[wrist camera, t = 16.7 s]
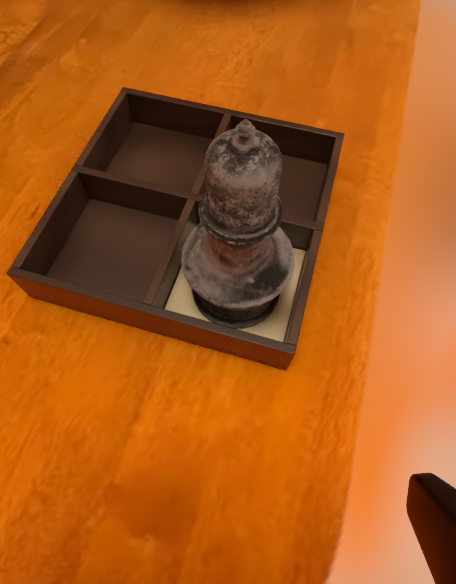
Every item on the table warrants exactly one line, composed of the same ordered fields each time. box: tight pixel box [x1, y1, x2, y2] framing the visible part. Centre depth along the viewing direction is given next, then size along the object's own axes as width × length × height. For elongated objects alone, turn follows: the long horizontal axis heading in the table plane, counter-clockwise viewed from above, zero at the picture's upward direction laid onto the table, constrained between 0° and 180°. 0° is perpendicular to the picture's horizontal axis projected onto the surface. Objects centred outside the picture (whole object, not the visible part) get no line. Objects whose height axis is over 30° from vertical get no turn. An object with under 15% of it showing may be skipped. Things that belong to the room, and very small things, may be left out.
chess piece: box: [181, 119, 295, 329], centre depth 18 cm, size 6×6×12 cm
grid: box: [7, 87, 344, 370], centre depth 25 cm, size 16×16×3 cm
